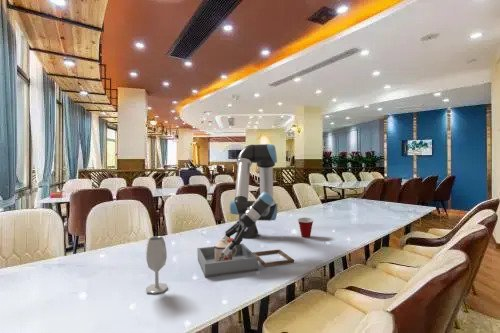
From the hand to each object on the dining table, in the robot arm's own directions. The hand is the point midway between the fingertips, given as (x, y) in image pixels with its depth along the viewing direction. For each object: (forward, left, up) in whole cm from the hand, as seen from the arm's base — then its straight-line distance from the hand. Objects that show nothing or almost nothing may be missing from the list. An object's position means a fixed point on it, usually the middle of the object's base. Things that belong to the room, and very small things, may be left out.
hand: (221, 249), depth 144 cm
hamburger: (-24, +9, -8) cm, 27 cm away
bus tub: (0, +2, -8) cm, 8 cm away
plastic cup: (-33, +65, -8) cm, 74 cm away
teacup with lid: (0, +2, -7) cm, 7 cm away
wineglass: (+18, -31, -8) cm, 36 cm away
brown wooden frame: (0, +27, -8) cm, 28 cm away
